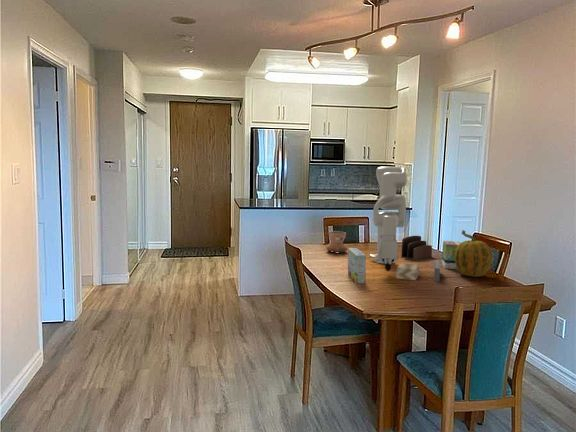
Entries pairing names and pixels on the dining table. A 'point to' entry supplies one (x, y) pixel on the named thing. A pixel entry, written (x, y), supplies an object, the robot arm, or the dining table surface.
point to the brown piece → (337, 241)
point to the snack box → (357, 265)
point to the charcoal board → (436, 271)
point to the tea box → (449, 254)
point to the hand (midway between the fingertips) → (387, 270)
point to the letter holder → (415, 248)
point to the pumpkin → (473, 257)
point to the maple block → (407, 271)
